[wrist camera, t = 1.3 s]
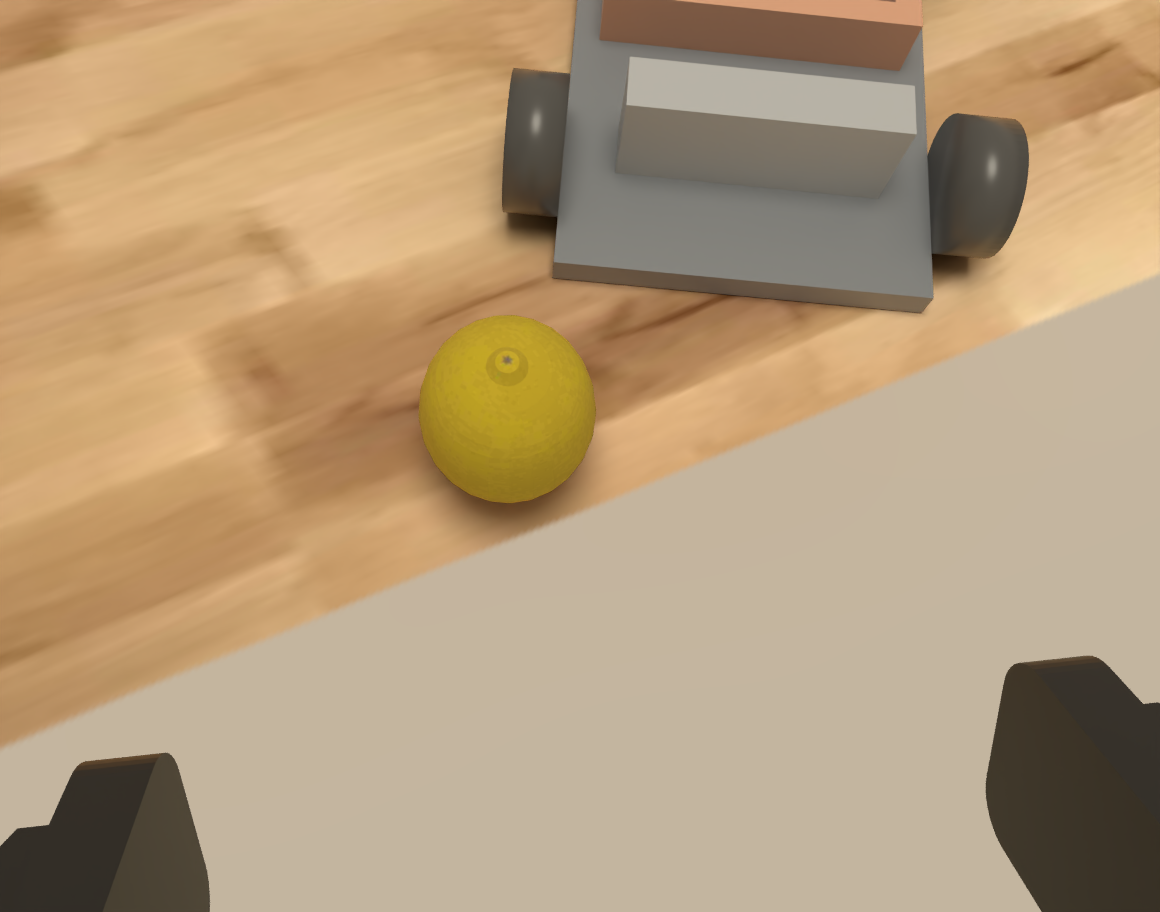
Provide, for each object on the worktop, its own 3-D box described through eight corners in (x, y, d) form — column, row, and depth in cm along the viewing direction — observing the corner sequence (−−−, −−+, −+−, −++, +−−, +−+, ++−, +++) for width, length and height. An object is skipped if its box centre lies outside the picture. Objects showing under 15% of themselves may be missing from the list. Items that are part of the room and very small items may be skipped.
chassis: (498, 272, 38) (497, 195, 34) (547, -170, 46) (551, -288, 41) (973, 318, 39) (1039, 248, 34) (948, -126, 46) (1000, -236, 41)
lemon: (617, 439, 37) (644, 345, 29) (522, 560, 35) (524, 494, 28) (494, 351, 37) (490, 237, 30) (396, 465, 36) (364, 376, 28)
